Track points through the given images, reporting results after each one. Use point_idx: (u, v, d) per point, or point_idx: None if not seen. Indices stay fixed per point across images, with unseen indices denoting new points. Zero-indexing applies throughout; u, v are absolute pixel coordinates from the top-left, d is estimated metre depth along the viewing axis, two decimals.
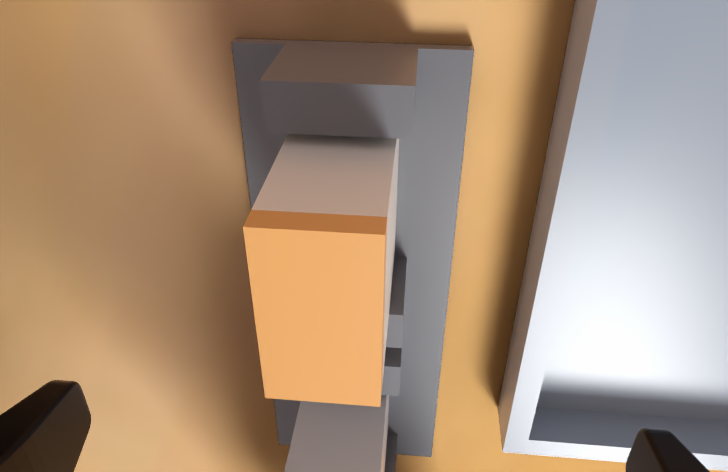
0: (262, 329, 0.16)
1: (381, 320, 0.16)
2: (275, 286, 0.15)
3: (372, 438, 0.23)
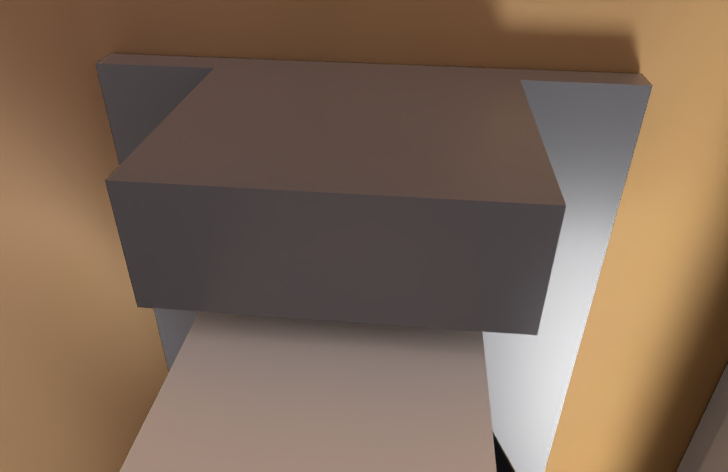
0: None
1: None
2: None
3: None
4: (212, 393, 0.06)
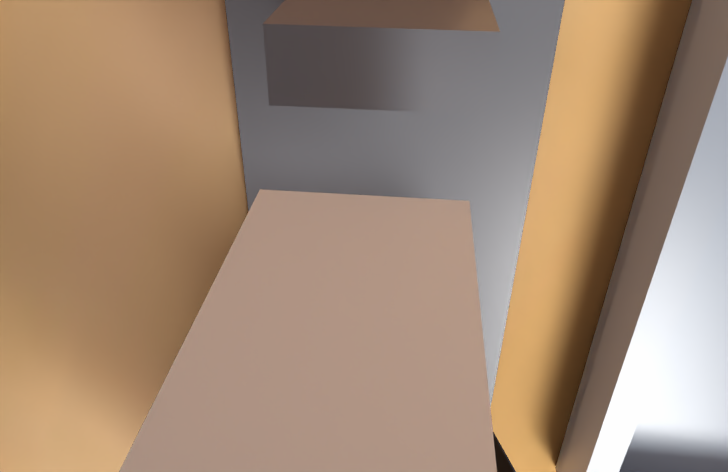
0: None
1: None
2: None
3: None
4: (212, 391, 0.06)
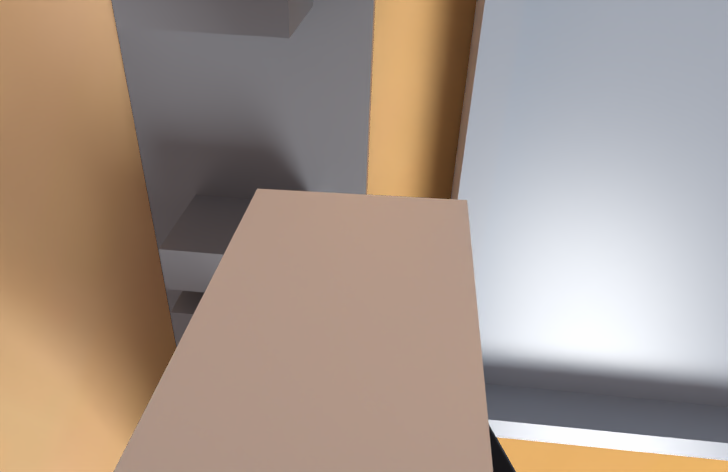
0: None
1: None
2: None
3: None
4: (208, 391, 0.06)
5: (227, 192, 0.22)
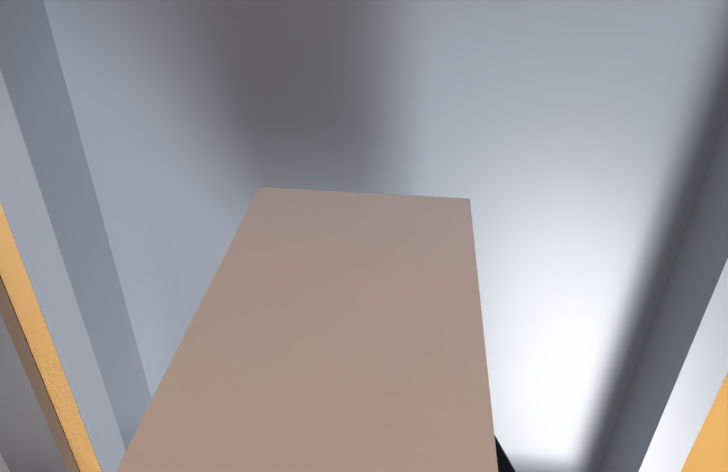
0: None
1: None
2: None
3: None
4: (211, 389, 0.06)
5: None
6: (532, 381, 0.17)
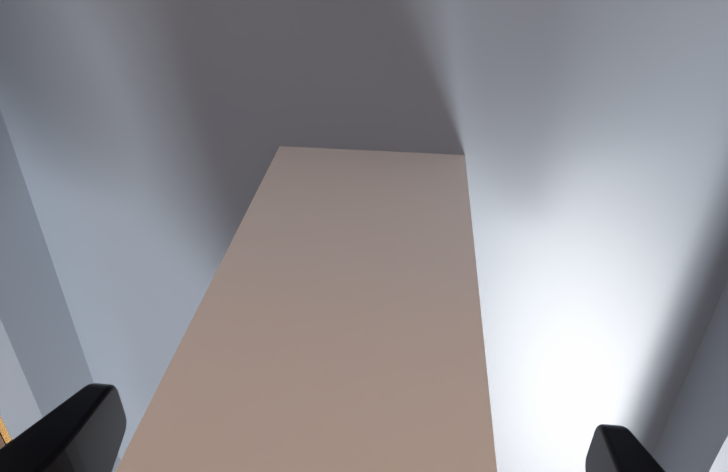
0: None
1: None
2: None
3: None
4: (249, 293, 0.07)
5: None
6: (543, 449, 0.15)
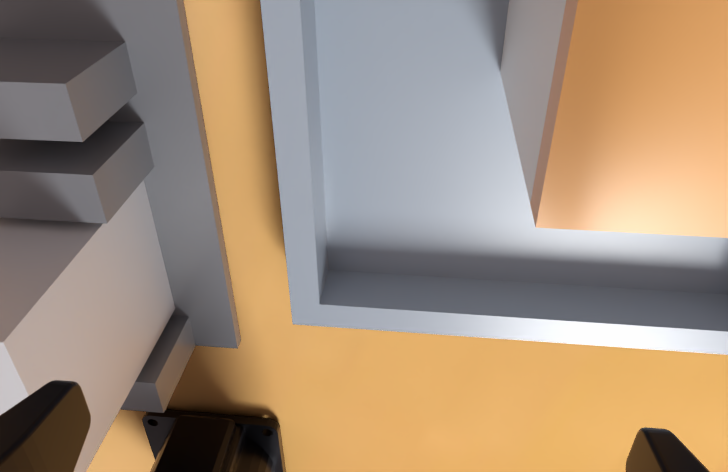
0: (575, 77, 0.09)
1: None
2: None
3: (49, 269, 0.16)
4: None
5: (22, 33, 0.18)
6: None
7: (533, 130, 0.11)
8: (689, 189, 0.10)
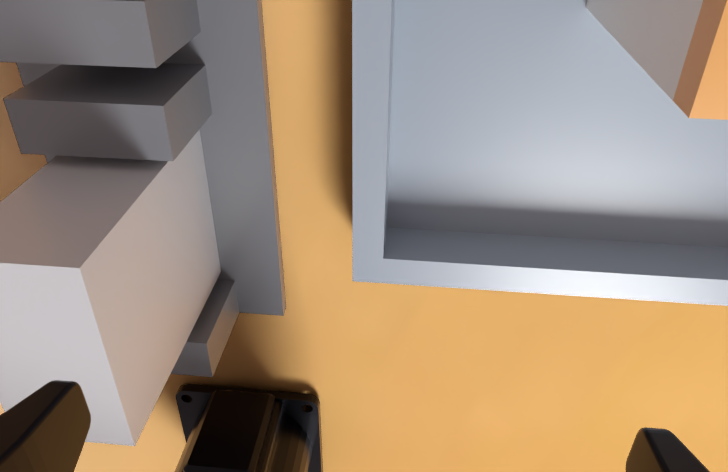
0: None
1: None
2: None
3: (116, 204, 0.15)
4: None
5: None
6: None
7: (675, 23, 0.11)
8: None
